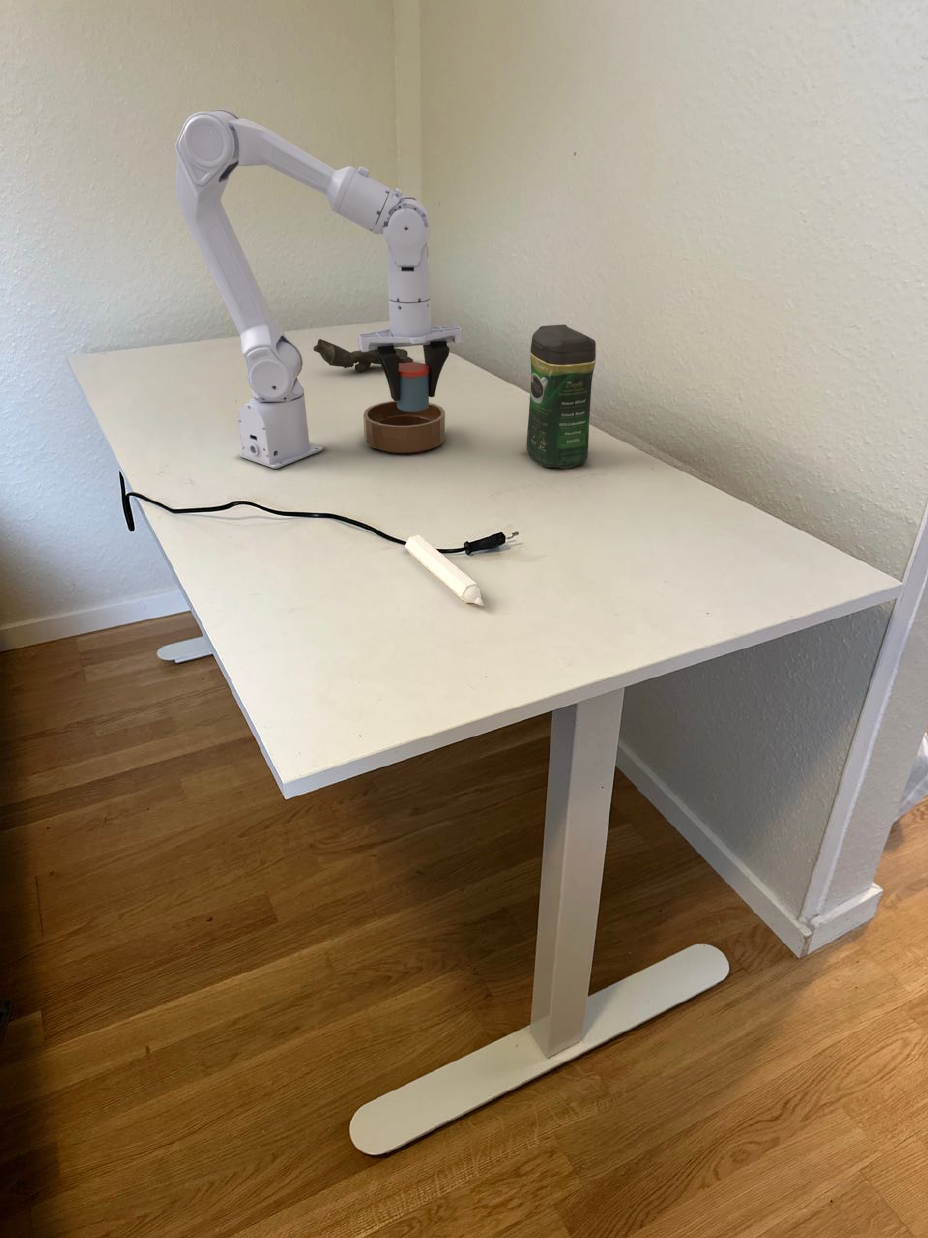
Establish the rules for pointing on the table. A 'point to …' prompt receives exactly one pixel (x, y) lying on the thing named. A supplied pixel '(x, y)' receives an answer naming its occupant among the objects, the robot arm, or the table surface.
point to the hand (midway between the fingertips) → (412, 396)
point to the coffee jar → (560, 396)
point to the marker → (444, 570)
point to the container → (413, 387)
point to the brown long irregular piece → (353, 356)
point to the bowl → (403, 428)
